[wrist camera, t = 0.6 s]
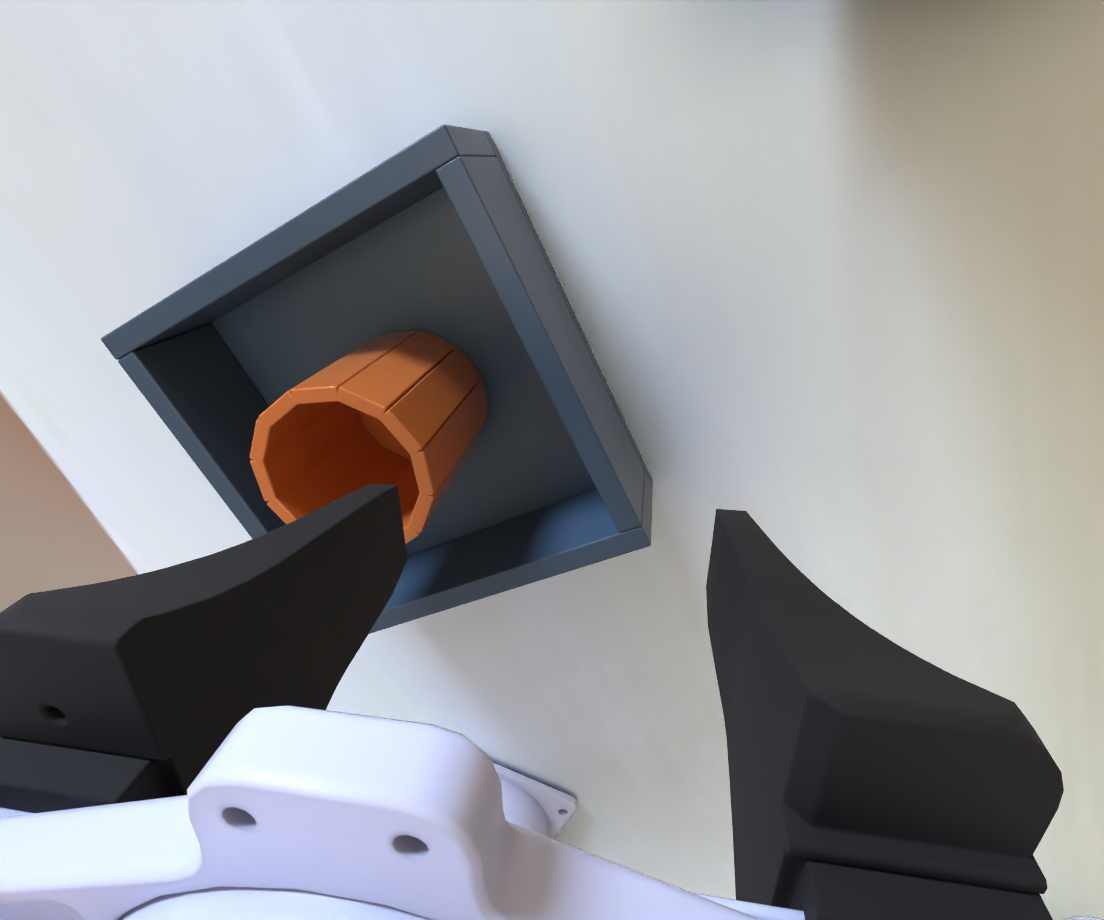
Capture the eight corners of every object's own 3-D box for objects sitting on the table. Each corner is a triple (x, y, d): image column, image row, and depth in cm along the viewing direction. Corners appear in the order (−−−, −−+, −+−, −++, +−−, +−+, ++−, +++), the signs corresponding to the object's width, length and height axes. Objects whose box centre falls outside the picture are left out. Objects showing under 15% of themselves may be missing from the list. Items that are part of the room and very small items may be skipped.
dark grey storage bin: (653, 481, 24) (651, 546, 20) (378, 577, 28) (332, 645, 24) (488, 130, 20) (444, 123, 16) (193, 309, 24) (99, 338, 20)
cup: (462, 485, 25) (402, 583, 19) (337, 430, 25) (238, 511, 19) (509, 367, 22) (455, 439, 17) (370, 304, 22) (267, 355, 16)
